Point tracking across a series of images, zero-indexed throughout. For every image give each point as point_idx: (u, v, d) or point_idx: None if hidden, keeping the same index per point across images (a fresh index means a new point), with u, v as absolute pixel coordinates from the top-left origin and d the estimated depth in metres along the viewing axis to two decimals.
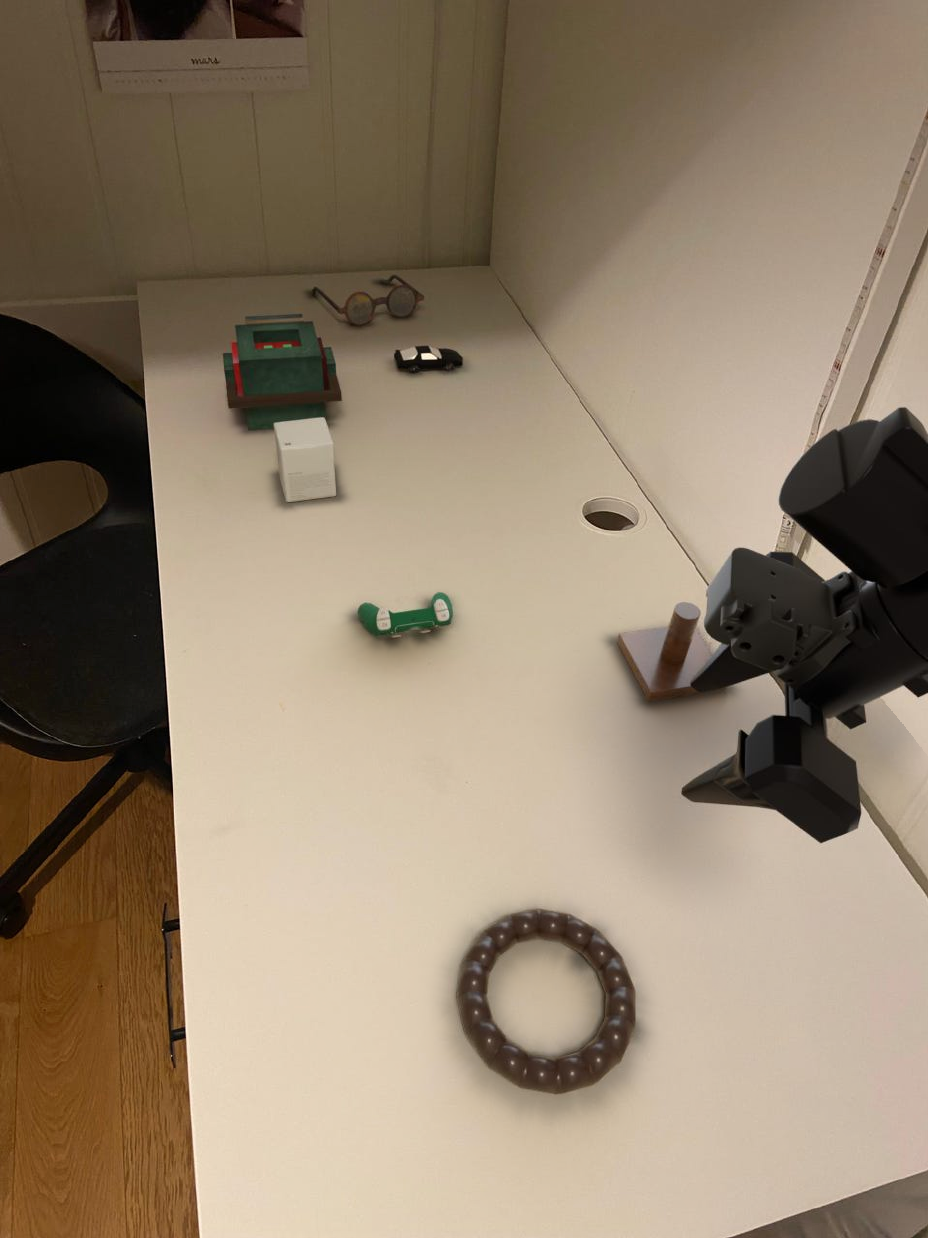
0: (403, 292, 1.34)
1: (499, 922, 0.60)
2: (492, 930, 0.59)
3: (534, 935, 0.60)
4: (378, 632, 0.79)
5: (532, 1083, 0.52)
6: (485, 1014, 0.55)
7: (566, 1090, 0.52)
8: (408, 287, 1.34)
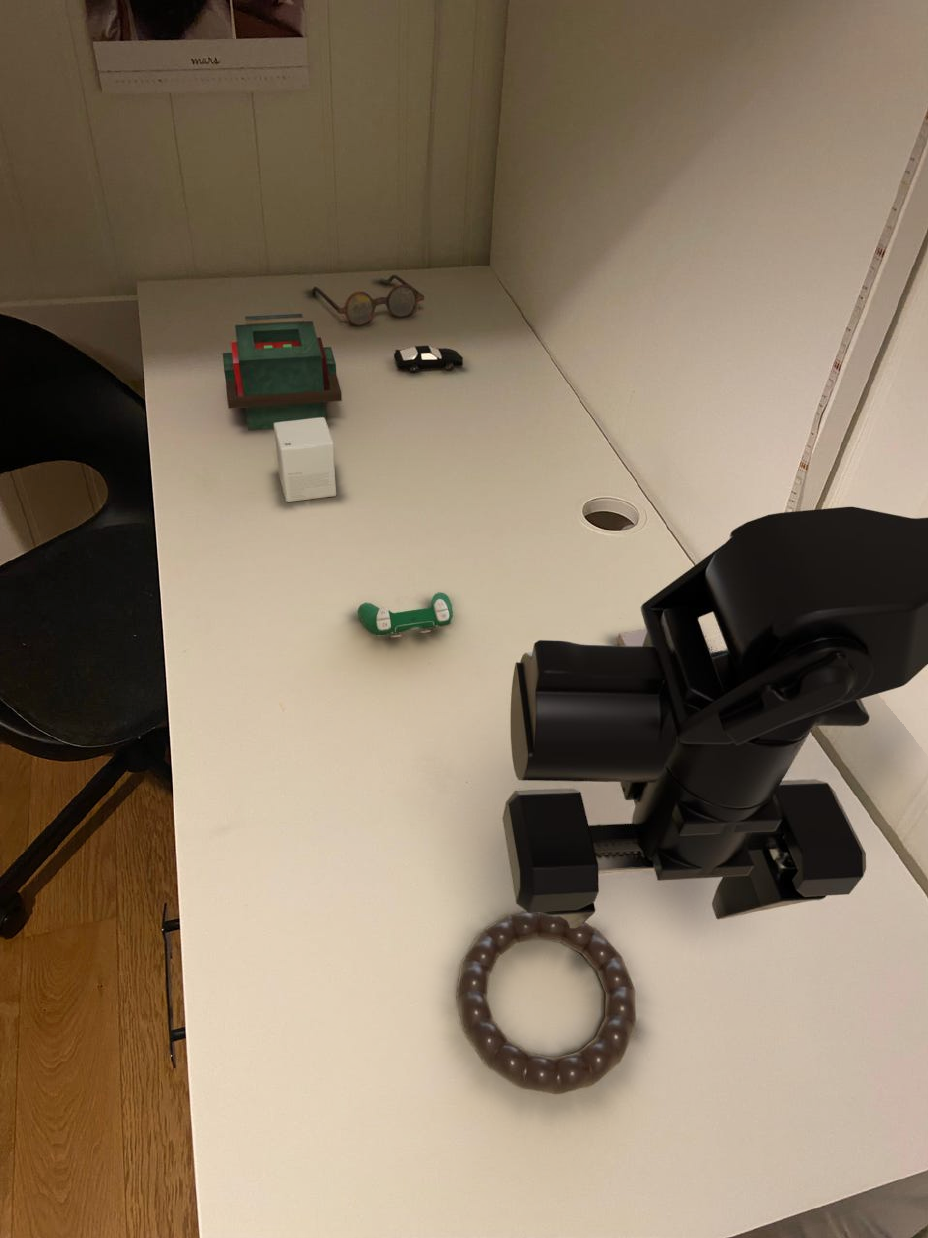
0: (403, 292, 1.34)
1: (499, 922, 0.60)
2: (492, 930, 0.59)
3: (534, 935, 0.60)
4: (378, 632, 0.79)
5: (532, 1083, 0.52)
6: (485, 1014, 0.55)
7: (566, 1090, 0.52)
8: (408, 287, 1.34)
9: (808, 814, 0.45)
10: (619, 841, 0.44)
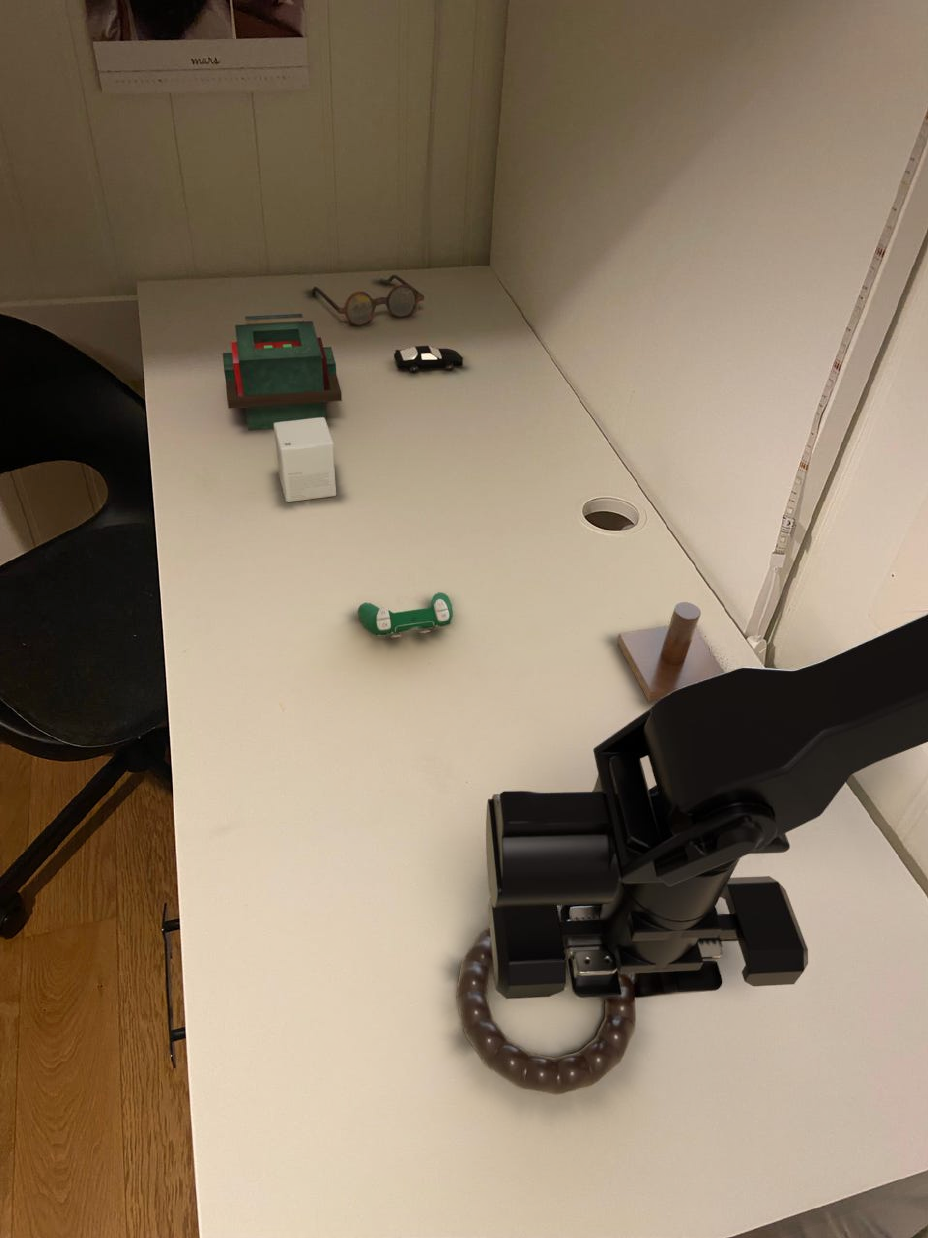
0: (403, 292, 1.34)
1: None
2: None
3: None
4: (378, 632, 0.79)
5: (532, 1083, 0.52)
6: (485, 1014, 0.55)
7: (566, 1090, 0.52)
8: (408, 287, 1.34)
9: (757, 912, 0.51)
10: (587, 936, 0.50)
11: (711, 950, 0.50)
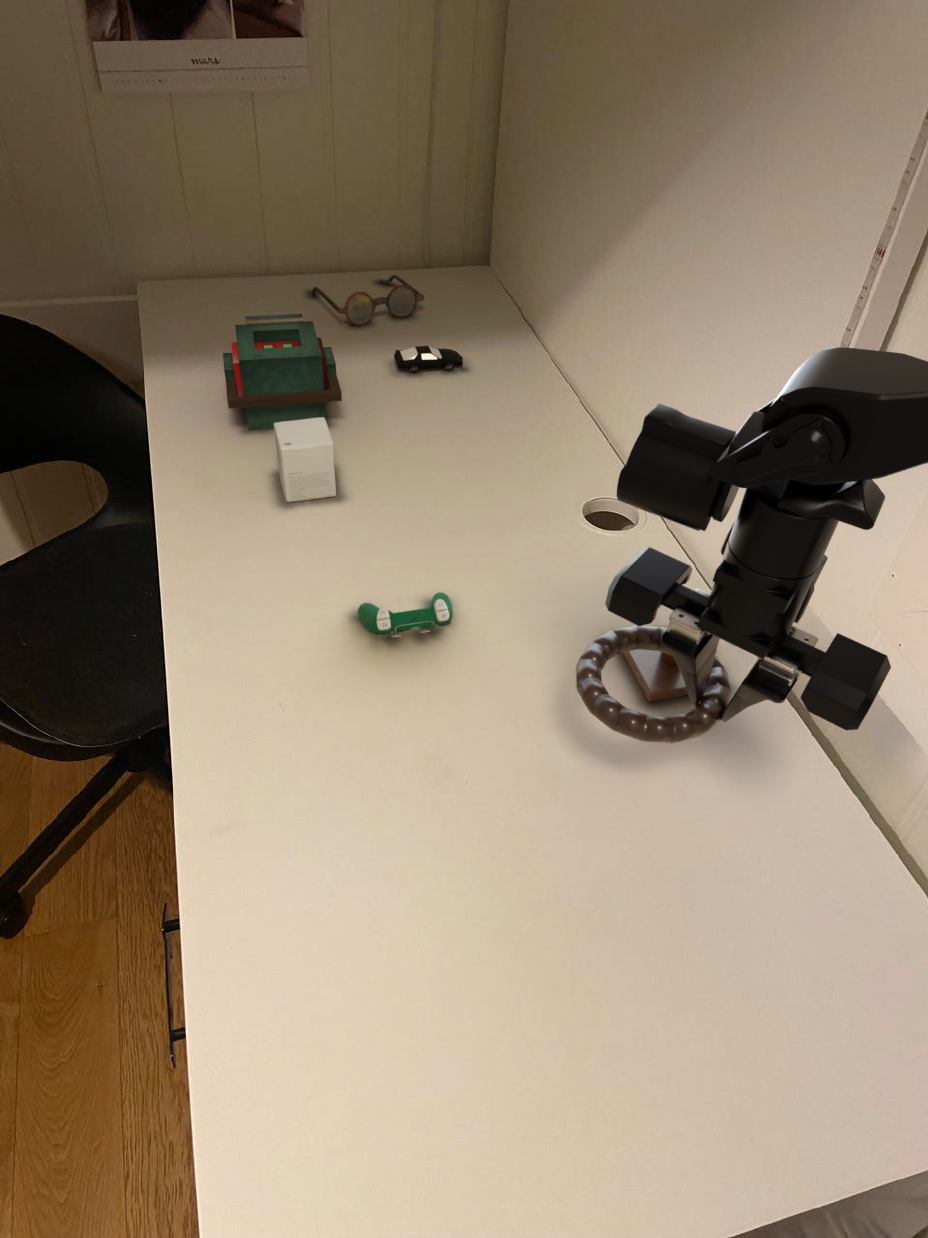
0: (403, 292, 1.34)
1: (651, 626, 0.70)
2: (642, 626, 0.70)
3: None
4: (378, 632, 0.79)
5: (597, 708, 0.64)
6: (596, 659, 0.67)
7: (619, 727, 0.63)
8: (408, 287, 1.34)
9: (847, 658, 0.55)
10: (692, 600, 0.59)
11: (787, 663, 0.56)
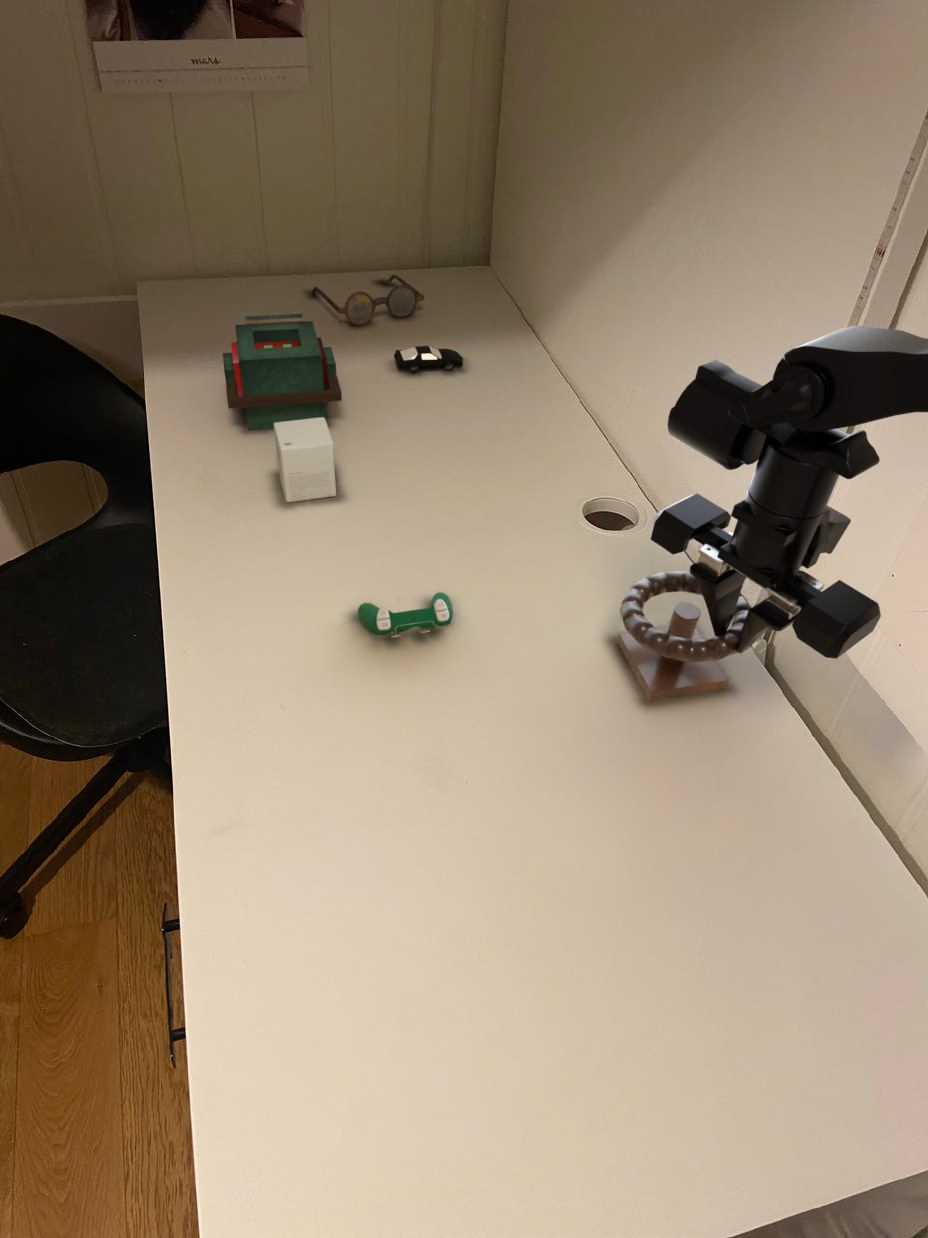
0: (403, 292, 1.34)
1: None
2: None
3: None
4: (378, 632, 0.79)
5: (631, 625, 0.75)
6: (642, 590, 0.79)
7: (645, 641, 0.74)
8: (408, 287, 1.34)
9: (840, 598, 0.64)
10: (721, 538, 0.69)
11: (788, 597, 0.65)
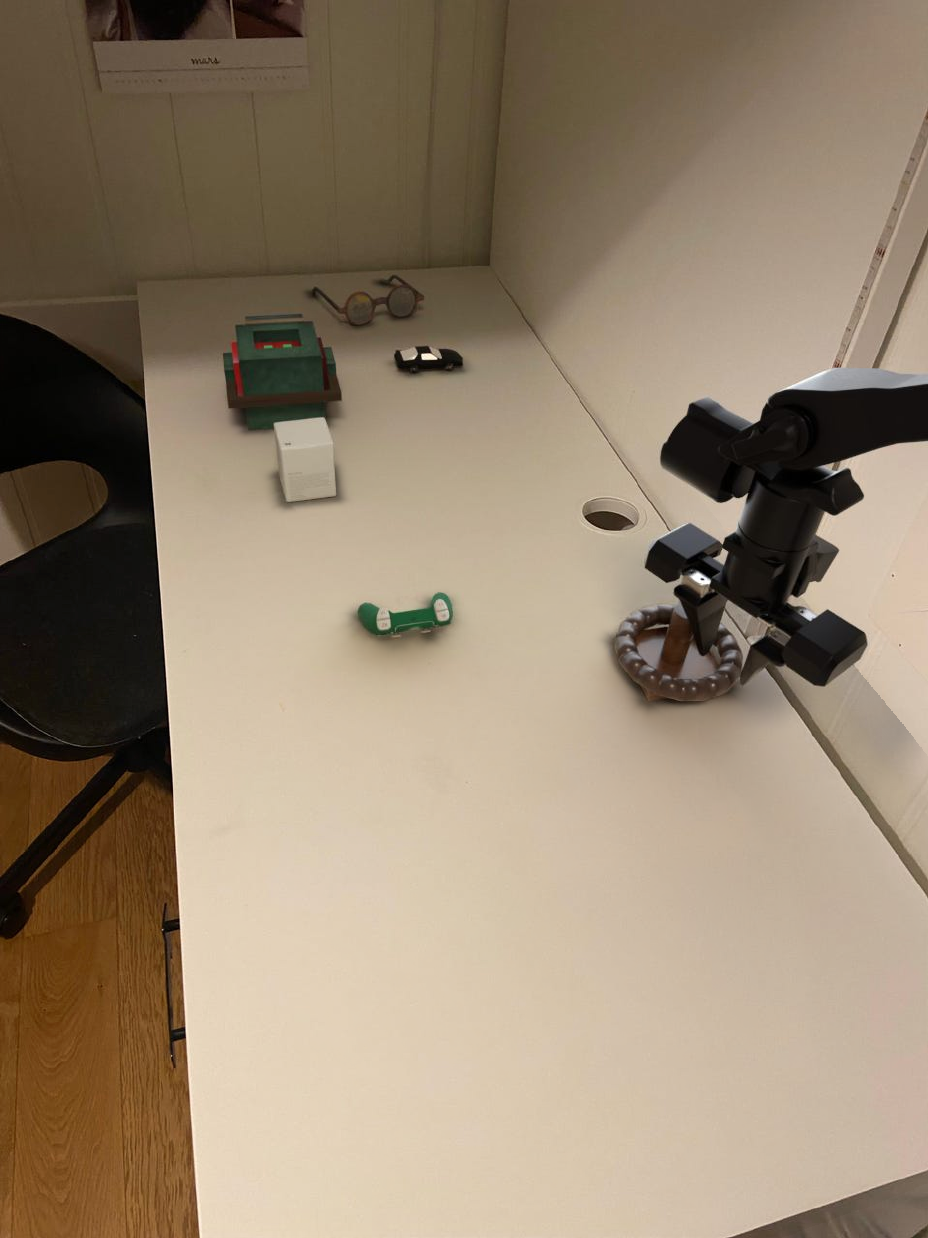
0: (403, 292, 1.34)
1: None
2: None
3: None
4: (378, 632, 0.79)
5: (625, 661, 0.78)
6: (636, 624, 0.81)
7: (639, 679, 0.77)
8: (408, 287, 1.34)
9: (828, 628, 0.66)
10: (713, 567, 0.71)
11: (767, 619, 0.68)
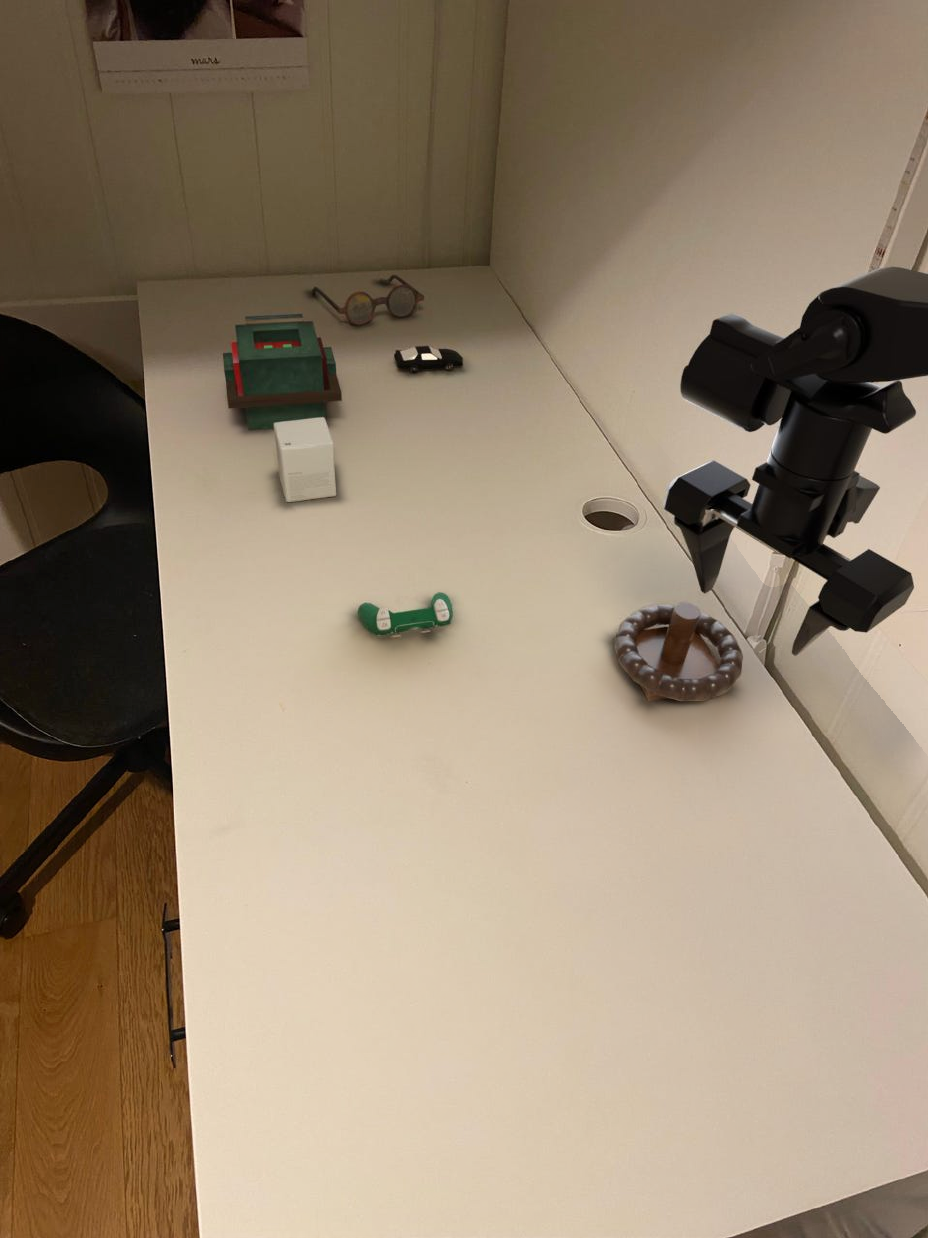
0: (403, 292, 1.34)
1: None
2: None
3: (703, 629, 0.82)
4: (378, 632, 0.79)
5: (625, 661, 0.78)
6: (636, 624, 0.81)
7: (639, 679, 0.77)
8: (408, 287, 1.34)
9: (870, 568, 0.59)
10: (740, 506, 0.65)
11: None
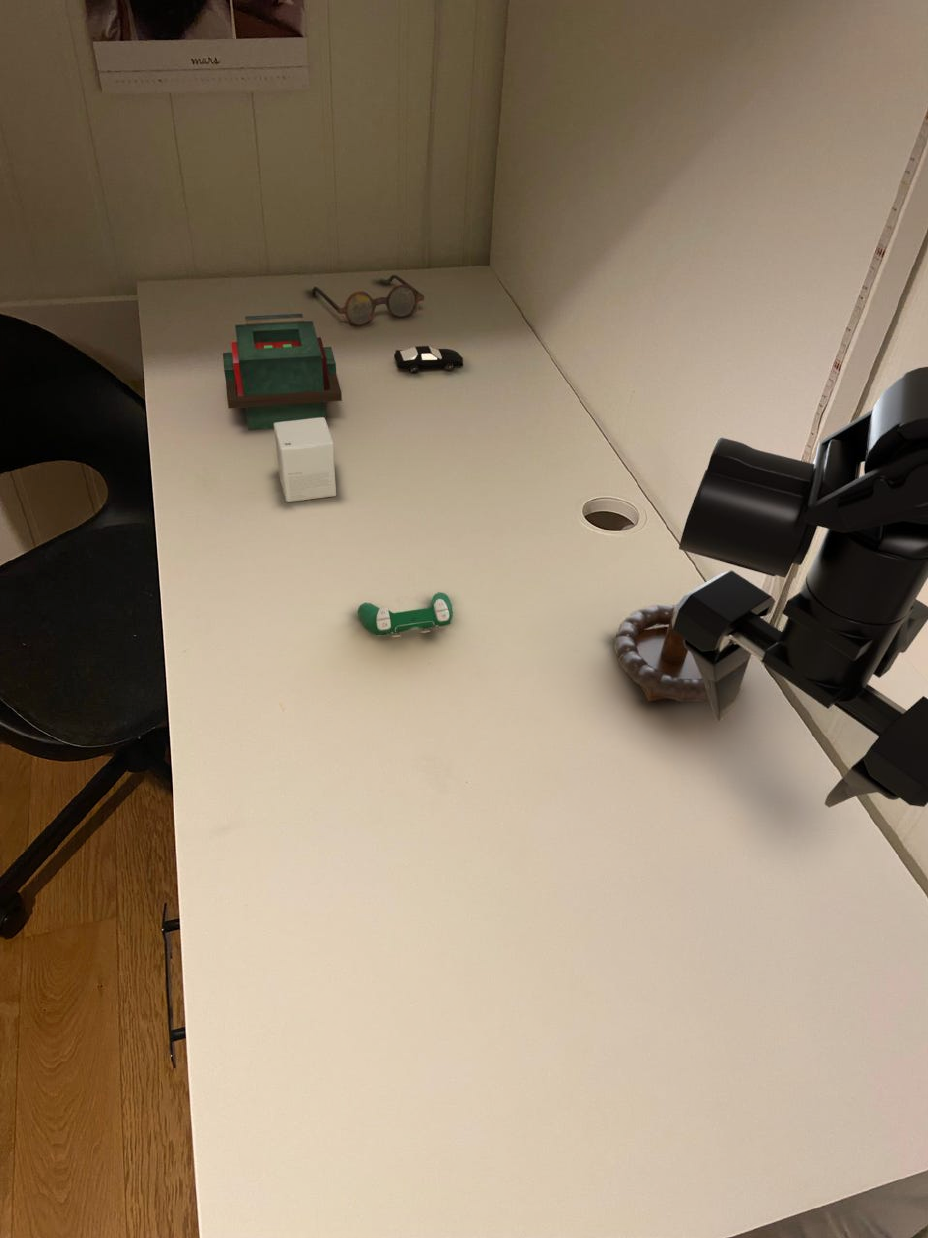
0: (403, 292, 1.34)
1: None
2: None
3: None
4: (378, 632, 0.79)
5: (625, 661, 0.78)
6: (636, 624, 0.81)
7: (639, 679, 0.77)
8: (408, 287, 1.34)
9: (927, 725, 0.48)
10: (765, 633, 0.54)
11: None
